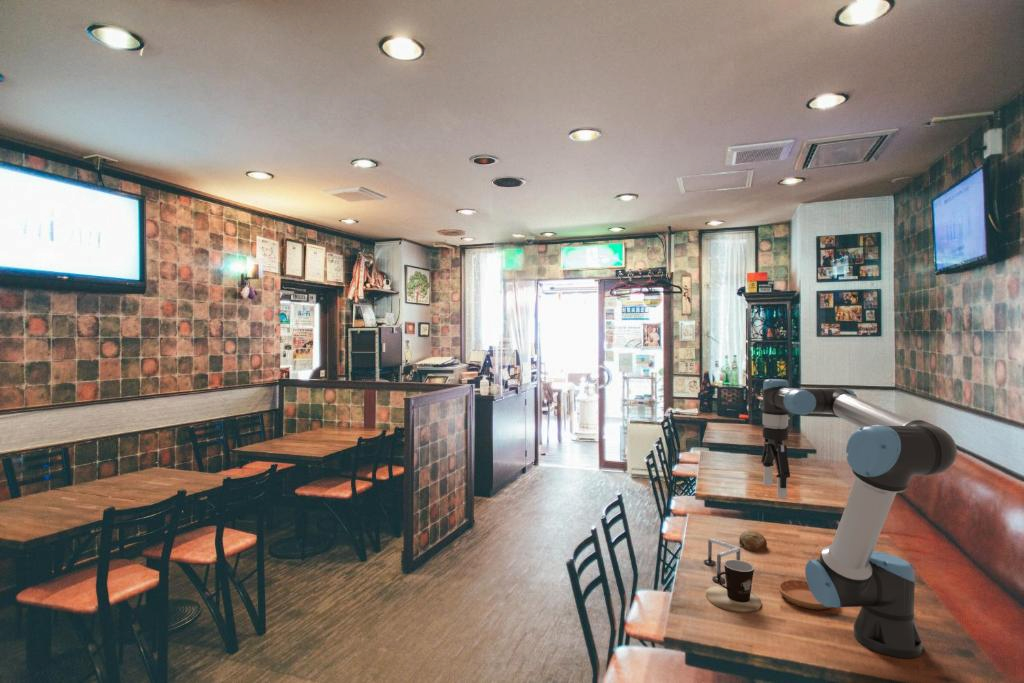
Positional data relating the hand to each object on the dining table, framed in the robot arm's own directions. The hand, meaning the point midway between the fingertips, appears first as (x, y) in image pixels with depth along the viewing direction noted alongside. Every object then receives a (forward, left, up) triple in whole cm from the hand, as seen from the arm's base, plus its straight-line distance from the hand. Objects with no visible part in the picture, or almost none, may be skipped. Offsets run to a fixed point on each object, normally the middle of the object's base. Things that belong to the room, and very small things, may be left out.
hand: (774, 491), depth 175 cm
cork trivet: (-10, +15, -32) cm, 36 cm away
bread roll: (+36, -4, -32) cm, 49 cm away
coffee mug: (-10, +15, -31) cm, 36 cm away
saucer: (-6, -8, -32) cm, 34 cm away
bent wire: (+10, +13, -32) cm, 36 cm away
